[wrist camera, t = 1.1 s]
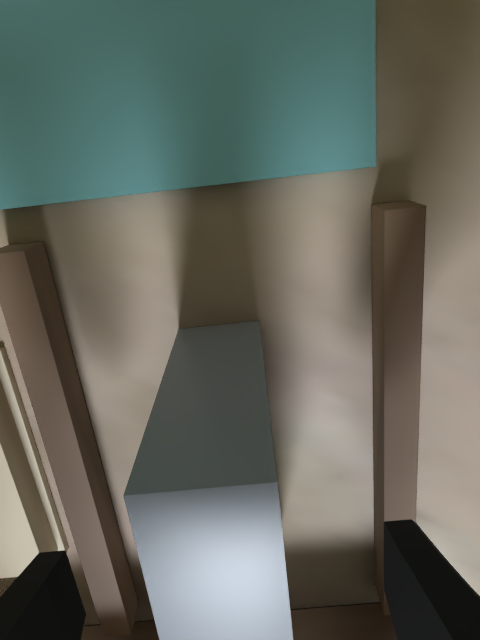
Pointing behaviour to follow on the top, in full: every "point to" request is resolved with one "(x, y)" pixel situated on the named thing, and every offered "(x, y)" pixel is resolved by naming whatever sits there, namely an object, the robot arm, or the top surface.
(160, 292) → the top surface
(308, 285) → the top surface
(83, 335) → the top surface
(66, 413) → the rack
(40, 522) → the offcut top
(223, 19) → the mat
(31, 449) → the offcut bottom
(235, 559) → the block
